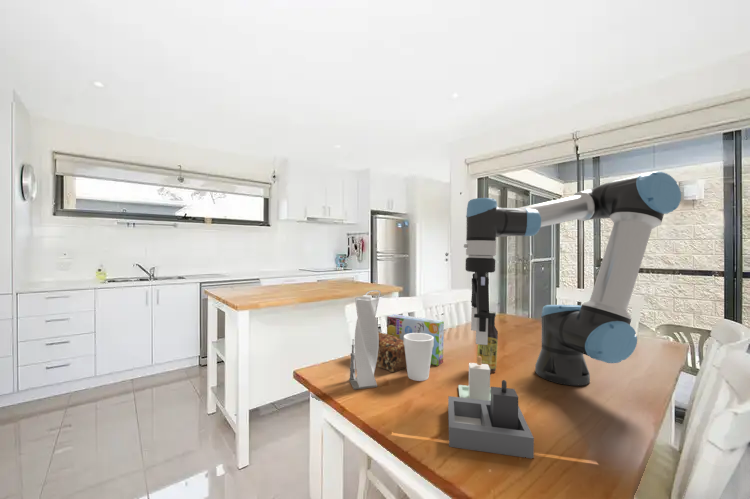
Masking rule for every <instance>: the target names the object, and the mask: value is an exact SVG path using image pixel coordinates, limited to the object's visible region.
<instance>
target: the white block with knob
mask: <svg viewBox="0 0 750 499" xmlns="http://www.w3.org/2000/svg"><path fill="white" fill-rule="evenodd" d="M468 386H469V398H470V399H479V400H488V401H490V388H491V373H490V368H489V365H488V364H482V358H481V356H478V357H477V356H476V362H469V363H468Z"/></svg>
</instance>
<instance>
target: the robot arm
mask: <svg viewBox="0 0 750 499" xmlns="http://www.w3.org/2000/svg"><path fill="white" fill-rule="evenodd" d="M681 200H682V192H681V188H680V186H679V185H678V183H677V181H676V179H675V178H673V176H672V175H670V174H668V173H666V172H663V171H652V172H643V173H640V174H637V175H634V176H630V177H625V178H622V179H621V178H620V179H617V180H613V181H608V182H605V183H602V184H600V185H597V186H595V187H591V188H587V189H585V190H580V191H578V192H575V193H574V194H573V195H571V196H568V197H564V198H558V199H554V200H548V201H545V202H540V203H539V202H538V203H534V204H530V205H525V206H520V207H500V206H498V203H497V200H496V199H495V198H491V197H478V198H472V199H470V200H469V201H468V202H467V207H466V215H465V218H466V236H465V238H466V242H465V243H464V244H463V248H465V255H466V256H467V257H466V258H465V269H464V270H465V271H466V272H469V273H472V277H471V300H470V302H471V303H470V304H471V305H470V306H471V312H470V313H471V314H470V315H471V318H470V321H471V322H470V330H471V331H473V332H474V331H475V345H478V344H482V345H488V317H489V316H490V314H489V311H490V298H489V297H490V296H489V294H490V293H489V277H488V276H487V275H486V274H487V273H489V274H490V273H495V272H496V259H495V258H494V257H496V255H497V254H496V253H497V239H496V238H504V237H523V238H524V237H533V236H535V235H537V234H538V233H539V231H540V229H541V228H544V227H548V226H552V225H558V224H561V223H567V222H571V221H575V220H578V221H580V222H582V221H583V222H584V221H586V222H587V221H589V220H591V221H592V220H598V219H599V220H601V219H602V220H603V219H604V220H605V219H610V221H612V223H613V225H612V229H611V232H610V235H609V238H608V241H607V245H606V246H605V247H606V248H605V251H604V255H603V258H602V260H601V262H600V267H599V269H598V273H597V276H596V280H595V283H594V286H593V289H592V292H591V295H590V299H589V300H588V301H586V302H584V303H582V304H581V305H578V304H546V305H544V306H543V307H542V310H541V315H540V316H541V317H540V318H541V349H540V352H539V355H538V357H537V360H536V362H535V365H534V366H535V368H534V370H535V372H534V373H535V374H536V375H537V376H539V377H540V378H542V379H544V380H546V381H549V382H552V383H555V384H560V385H566V386H573V387H574V386H576V387H577V386H579V387H580V386H586V385H589V384H590V381H591V380H590V379H591V375H590V371H589V368H588V366H587V362H586V360H585V356H588V357H590V358H591V359H593V360H596V361H599V362H603V363H606V364H618V363H620V362H622V361H625V360H627V359H628V358H629V357H631V355H632V354H633V353H634V352H635V351H636V348H637V344H638V336H637V335H636V334H637V332H636V330H635V329H634V327H633V326H632V325H631V323H632V317H631V315H629V313H628V308H629V305H630V301H631V298H632V296H633V295H632V294H633V293H634V287H635V285H636V282H637V278H638V275H639V272H640V269H641V268H640V267H641V265H642V262H643V258H644V256H645V253H646V249H647V246H648V243H649V241H650V240H649V239H650V237H651V233H652V230H653V229H655V228H657V227H659V226H661V225H662V221H663V218H664V216H665V215H667V214H669V213H672V212H674V210H677V209H678V207H679V206H680V204H681ZM584 355H585V356H584Z"/></svg>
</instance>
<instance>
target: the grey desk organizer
mask: <svg viewBox="0 0 750 499" xmlns="http://www.w3.org/2000/svg"><path fill="white" fill-rule="evenodd" d="M507 384H508V382H507V381H506V380H505V379H503V380H501V387H498V386H490V388H491V401H488V400H479V399H470V398H461V397H459V396H449V395H448V401H447V402H448V406H447V407H448V408H447V410H448V412H447V413H448V415H447V416H448V418H447V419H448V447H449V448H456V449H463V450H471V451H476V452H477V451H478V452H485V453H491V454H492V453H493V454H498V455H503V456H505V455H506V456H512V457H520V458H525V457H526V458H525V459H532V458H534V457H535V454H534V453H535V452H534V451H535V450H534V449H535V448H534V447H535V437H534V435H533V433H532V431H531V429H530V427H529V425H528V423H527V421H526V419H525V416H524V414H523V412H522V410H521V408H520V405H519V395H518V394H517V391H516V389H515V388H507Z"/></svg>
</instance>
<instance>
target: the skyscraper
mask: <svg viewBox="0 0 750 499" xmlns="http://www.w3.org/2000/svg"><path fill="white" fill-rule="evenodd" d="M374 292H377V293H378V296H377V297H373V295H370V293H374ZM381 293H382V291H381V290H378V289H371V290H368V291H367V292H365V294H363V295H362V296H357V297H355V298H354V302H355V309H356V314H357V318H356V324H355V330H354V338H353V339H352V344H351V353H350V364H349V365H350V366H349V378H348V380H349V382H350V385H351V388H352V389H353V390H363V389H372V388H378V384H377V381H376V378H375V371H376V367H377V366H376V363H377V357H378V348H379V333H378V332H379V326H378V322H377V317H376V315H377V311H378V305H379V299H380V296H381Z"/></svg>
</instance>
